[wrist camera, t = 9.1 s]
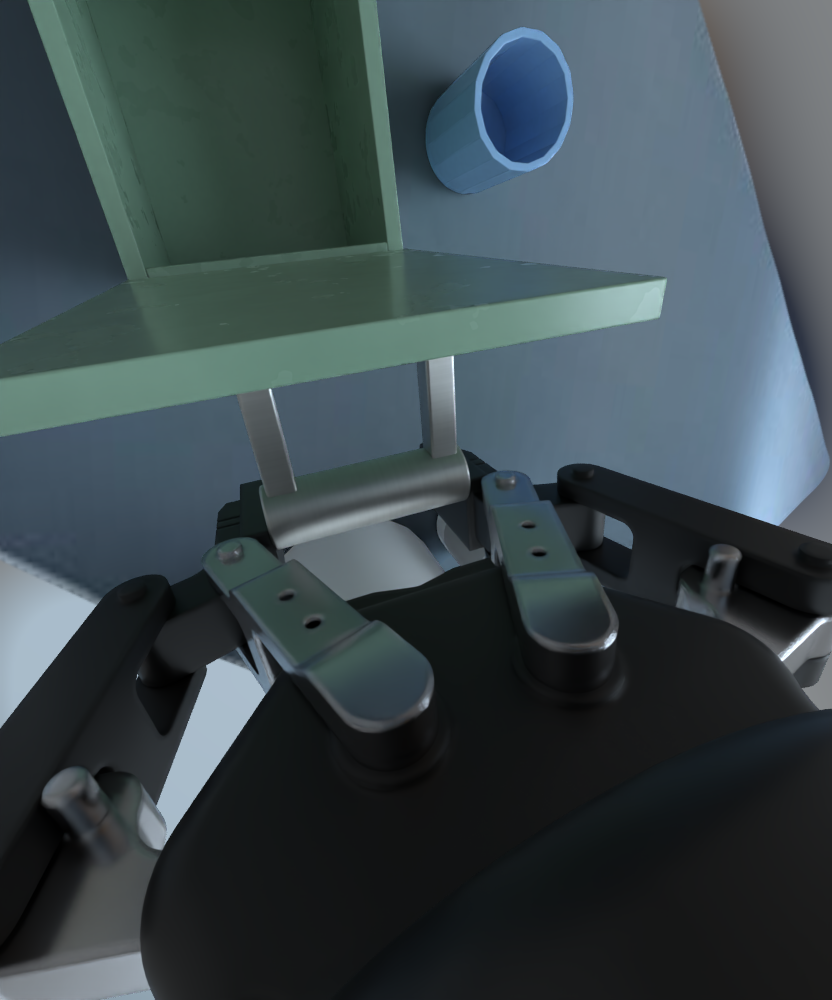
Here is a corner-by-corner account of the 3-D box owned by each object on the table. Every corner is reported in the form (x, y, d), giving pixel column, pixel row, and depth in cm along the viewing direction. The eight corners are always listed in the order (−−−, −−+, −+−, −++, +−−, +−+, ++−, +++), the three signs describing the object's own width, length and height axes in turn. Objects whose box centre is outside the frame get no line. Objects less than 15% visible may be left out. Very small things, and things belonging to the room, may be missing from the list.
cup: (446, 62, 29) (505, -4, 22) (519, 119, 31) (591, 75, 25) (411, 165, 30) (456, 132, 24) (483, 211, 33) (541, 192, 26)
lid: (-104, 394, 6) (83, 655, 9) (668, 276, 9) (624, 497, 12) (125, 280, 19) (170, 398, 22) (406, 248, 22) (414, 355, 25)
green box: (47, -70, 22) (-88, -318, 13) (311, -55, 25) (349, -247, 16) (166, 289, 29) (131, 290, 20) (359, 266, 32) (404, 258, 23)
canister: (236, 556, 37) (231, 782, 20) (415, 491, 40) (542, 640, 23) (301, 684, 45) (337, 926, 28) (447, 621, 48) (561, 805, 31)
